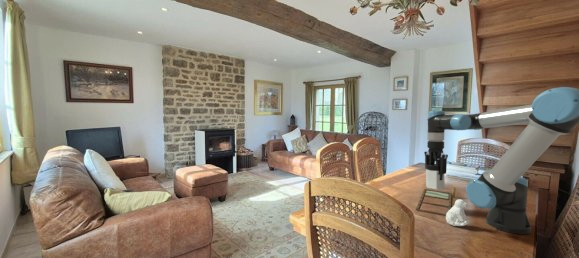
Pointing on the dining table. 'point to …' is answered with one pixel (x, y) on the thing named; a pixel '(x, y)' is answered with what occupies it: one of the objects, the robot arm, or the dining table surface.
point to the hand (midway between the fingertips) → (435, 185)
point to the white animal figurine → (457, 214)
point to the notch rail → (436, 195)
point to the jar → (434, 177)
